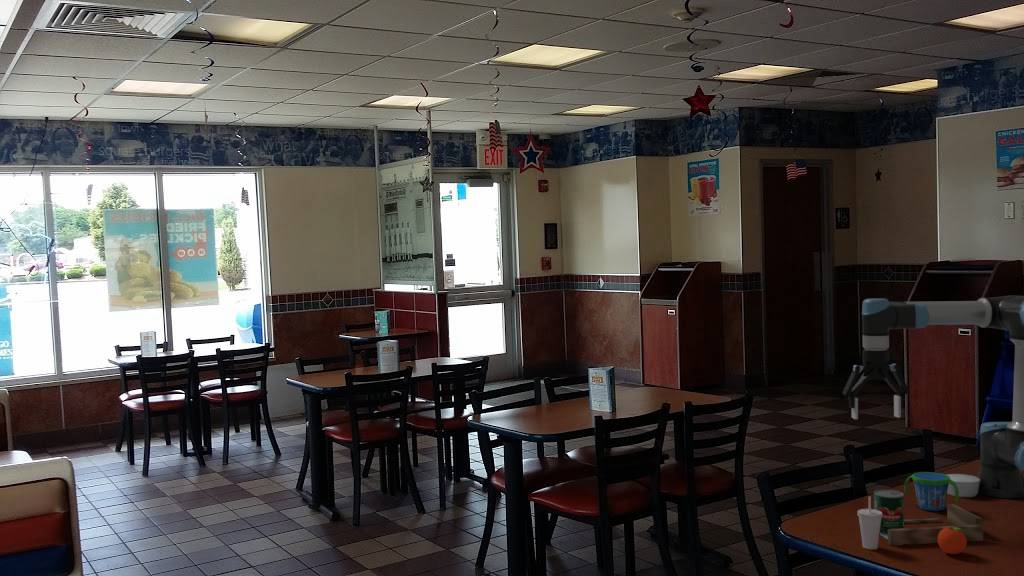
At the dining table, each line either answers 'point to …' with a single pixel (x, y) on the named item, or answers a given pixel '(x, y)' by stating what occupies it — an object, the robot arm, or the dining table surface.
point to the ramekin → (964, 485)
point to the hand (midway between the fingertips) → (876, 417)
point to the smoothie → (870, 526)
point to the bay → (938, 528)
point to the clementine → (952, 540)
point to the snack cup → (931, 490)
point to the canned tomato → (890, 509)
